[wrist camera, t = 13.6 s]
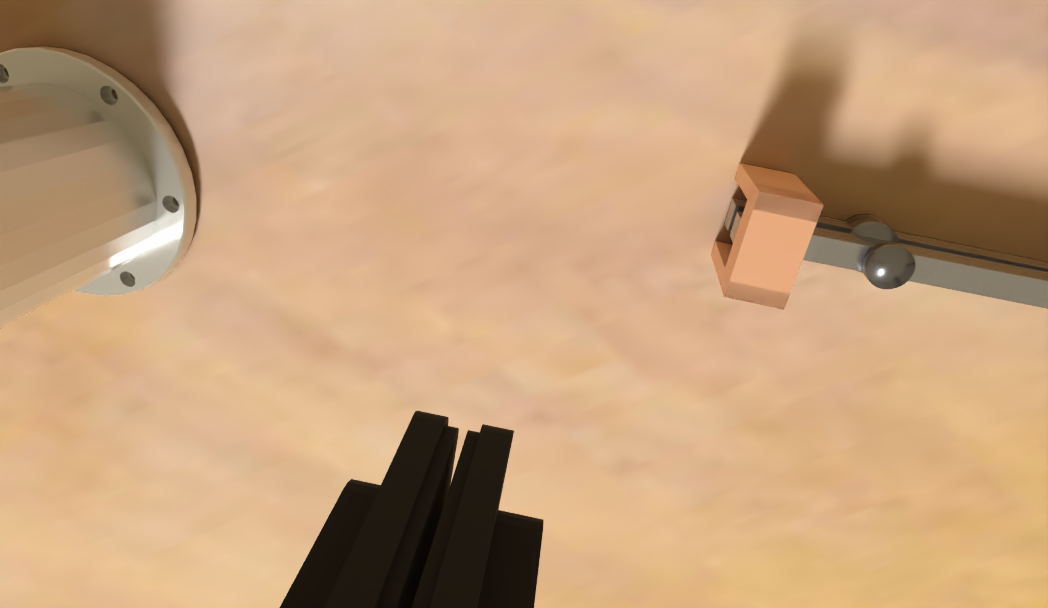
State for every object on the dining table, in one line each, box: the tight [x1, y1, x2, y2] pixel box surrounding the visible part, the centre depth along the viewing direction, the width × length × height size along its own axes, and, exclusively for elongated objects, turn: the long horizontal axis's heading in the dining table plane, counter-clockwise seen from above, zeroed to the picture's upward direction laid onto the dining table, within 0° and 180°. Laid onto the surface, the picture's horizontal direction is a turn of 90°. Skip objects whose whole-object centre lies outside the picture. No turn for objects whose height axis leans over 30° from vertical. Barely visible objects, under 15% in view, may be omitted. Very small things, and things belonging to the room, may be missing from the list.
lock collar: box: [711, 163, 824, 309], centre depth 28 cm, size 2×4×5 cm, turn 170°
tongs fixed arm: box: [724, 198, 1048, 272], centre depth 29 cm, size 22×2×2 cm, turn 80°
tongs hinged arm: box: [730, 211, 1048, 309], centre depth 27 cm, size 22×2×2 cm, turn 81°
